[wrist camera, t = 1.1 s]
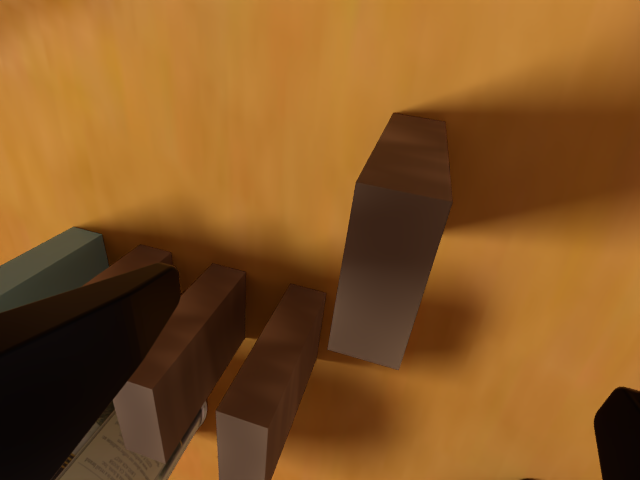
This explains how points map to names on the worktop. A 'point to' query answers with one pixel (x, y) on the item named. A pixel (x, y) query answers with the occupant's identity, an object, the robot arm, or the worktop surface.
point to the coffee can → (119, 453)
